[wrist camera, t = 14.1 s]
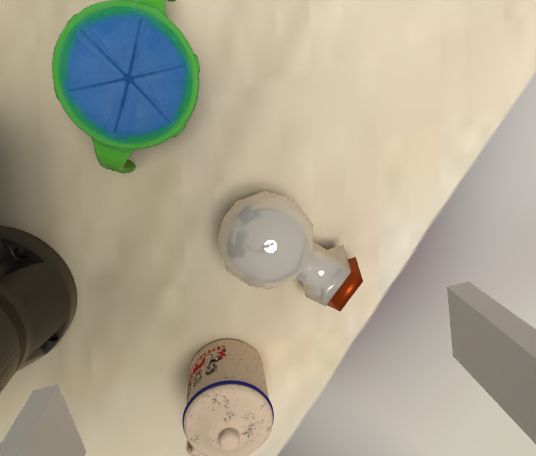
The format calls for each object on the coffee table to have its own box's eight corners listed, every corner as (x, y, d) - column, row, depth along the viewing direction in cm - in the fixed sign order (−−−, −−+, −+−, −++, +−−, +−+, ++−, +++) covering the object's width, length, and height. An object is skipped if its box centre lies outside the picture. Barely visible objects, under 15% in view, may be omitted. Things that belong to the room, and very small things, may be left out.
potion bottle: (223, 187, 47) (328, 250, 52) (187, 268, 43) (304, 327, 48) (265, 158, 39) (384, 236, 44) (225, 254, 35) (360, 327, 41)
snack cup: (120, -27, 39) (88, -69, 29) (229, 28, 41) (233, 6, 31) (66, 136, 42) (22, 147, 33) (170, 178, 44) (157, 200, 35)
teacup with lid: (215, 322, 50) (215, 387, 39) (279, 358, 52) (297, 429, 41) (159, 399, 52) (144, 481, 41) (223, 430, 54) (225, 516, 43)
